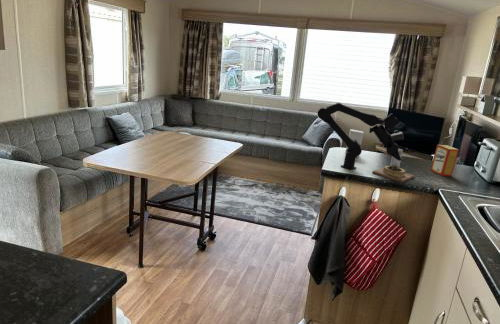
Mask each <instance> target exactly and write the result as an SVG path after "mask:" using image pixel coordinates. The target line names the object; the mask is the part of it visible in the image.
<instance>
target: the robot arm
mask: <svg viewBox="0 0 500 324" xmlns="http://www.w3.org/2000/svg"><path fill="white" fill-rule="evenodd" d="M337 112H339V113H343V114H345V115H348V116H351V117H353V118H356V119H359V120H360V121H361V122H363V123H364V124H366V125H367V126H369V130H368V133H369V134H371V133H373V134H374V135H375V136H376V138H377V139H378V140H379V142H380V143H381V145H382V146H383V148H384V149H385V152H386V154H387V155H388V156H389V155H390V157H392V156H393V157H394V158H396V159H398V160H399V161H400V160H401V161H402V157H400V155H399V153H398V149H400V147H399V145H398V144H397V142H396V141H401V140H404V139H405V136H404V132H402V131H399V130H398V129H397V130H396V129H395V130H394V131H393V133H392V134H391V133H390V132H388V131H387V130H391V131H392V130H393V129H394V128H396V127H398V126H399V125H400V124H401V123H400V121H399V120H398V118H397V117H396V116H395V115H394V114H393V113H390V114H389V115H387V116H386V117H385V118H381V117H378V116H377V115H376V114H374V113H370V112H364V111H361V110H359V109H356V108H353V107H351V106H347V105H345V104H343V103H341V102H336V103H335V104H332V105H329V106H322V107H320V108H319V109H318V110H317V116H318V118H319V119H320V120H322V121H323V122H324V123H325V124H327V125H328V126H329V127H330V128H331V129H332V130H333V131H334V133H335V134H336V135H338V137H339V138H340V139H341V141H343V142H344V144H345V146H346V147H348V150H346V149H345V151H346V155H345V157H344V161H343V164H341V165H340V167H342V168H344V169H347V170H350V171H351V170H356V169H357V168H358V167H356V166H355V164H356V158H358V157H359V156H360V155H361V154H362V151H363V149H362V143H361V144H360V143H359V142H358V141H357V139H355V140H353V139H351V138H350V137H349V134H347V132H346V131H345V130H344V129H343V128H342V126H340V124H339V123H338V122H337V121H336V120H335V119H334V116H333V115H332V114H334V113H337ZM357 156H358V157H357Z"/></svg>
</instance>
